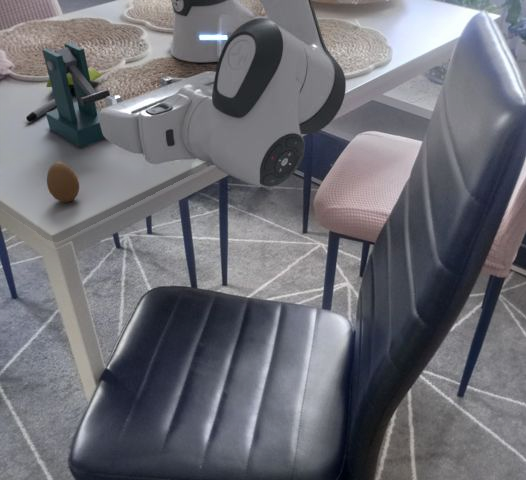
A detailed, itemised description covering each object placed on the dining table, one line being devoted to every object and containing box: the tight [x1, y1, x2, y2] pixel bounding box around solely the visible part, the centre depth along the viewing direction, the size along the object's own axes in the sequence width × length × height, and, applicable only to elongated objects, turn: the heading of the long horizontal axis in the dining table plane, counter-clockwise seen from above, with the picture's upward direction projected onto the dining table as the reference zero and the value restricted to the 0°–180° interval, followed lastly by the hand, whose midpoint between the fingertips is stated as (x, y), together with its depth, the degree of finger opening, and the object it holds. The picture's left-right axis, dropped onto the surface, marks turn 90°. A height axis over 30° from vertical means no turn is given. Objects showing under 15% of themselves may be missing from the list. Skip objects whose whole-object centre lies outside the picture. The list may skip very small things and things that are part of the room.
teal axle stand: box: [42, 41, 106, 149], centre depth 100 cm, size 10×7×14 cm
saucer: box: [45, 66, 102, 88], centre depth 118 cm, size 9×9×2 cm
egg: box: [46, 161, 80, 203], centre depth 87 cm, size 4×4×6 cm
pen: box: [26, 86, 76, 122], centre depth 113 cm, size 1×16×1 cm, turn 158°
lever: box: [54, 47, 111, 106], centre depth 96 cm, size 10×5×2 cm, turn 46°
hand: (137, 91), depth 86 cm, fingers open, 8 cm apart
